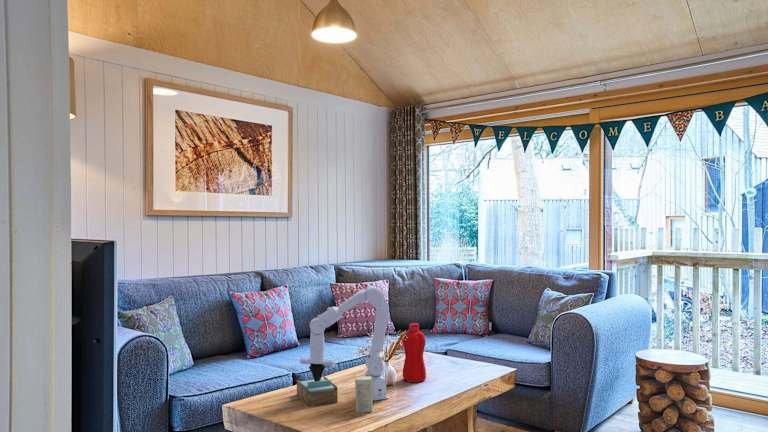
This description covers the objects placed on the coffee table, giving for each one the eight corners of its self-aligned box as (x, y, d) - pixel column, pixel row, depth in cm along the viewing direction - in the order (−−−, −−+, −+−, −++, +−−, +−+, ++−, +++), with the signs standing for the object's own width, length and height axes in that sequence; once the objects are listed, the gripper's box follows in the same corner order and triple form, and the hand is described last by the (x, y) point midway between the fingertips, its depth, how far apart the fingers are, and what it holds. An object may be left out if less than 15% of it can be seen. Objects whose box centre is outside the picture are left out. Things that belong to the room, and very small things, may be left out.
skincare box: (372, 408, 217) (372, 375, 217) (372, 412, 213) (372, 379, 213) (355, 408, 217) (355, 376, 217) (355, 412, 213) (355, 379, 213)
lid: (334, 389, 225) (334, 382, 225) (309, 392, 221) (309, 385, 221) (323, 379, 238) (323, 373, 238) (299, 382, 234) (299, 376, 234)
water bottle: (396, 379, 256) (396, 323, 256) (417, 376, 261) (417, 320, 261) (407, 384, 248) (406, 326, 248) (428, 381, 253) (428, 324, 253)
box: (337, 402, 225) (337, 386, 225) (307, 406, 220) (307, 390, 220) (325, 390, 239) (325, 376, 239) (296, 394, 235) (296, 379, 235)
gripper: (338, 348, 230) (338, 382, 230) (306, 345, 235) (306, 378, 235) (330, 351, 223) (330, 387, 223) (297, 349, 228) (297, 383, 228)
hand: (317, 383), depth 228 cm, fingers closed
